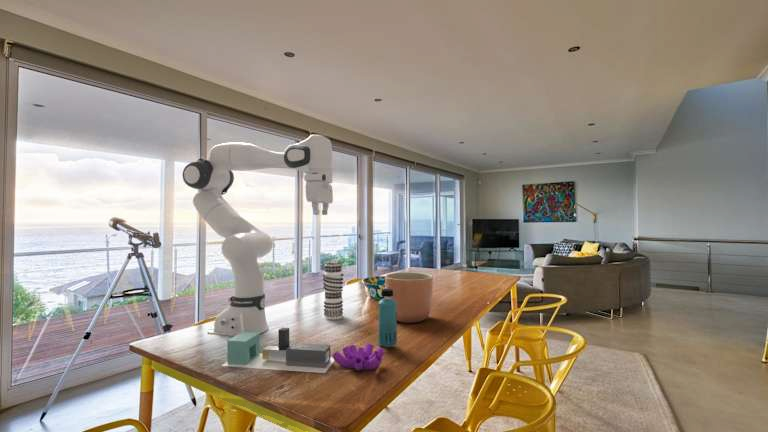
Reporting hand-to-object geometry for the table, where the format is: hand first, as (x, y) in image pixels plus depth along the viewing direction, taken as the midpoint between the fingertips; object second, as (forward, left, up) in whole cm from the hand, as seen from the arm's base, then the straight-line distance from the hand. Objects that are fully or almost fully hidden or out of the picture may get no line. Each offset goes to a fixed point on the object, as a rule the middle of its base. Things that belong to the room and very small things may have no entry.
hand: (320, 214), depth 135 cm
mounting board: (-3, -27, -46) cm, 53 cm away
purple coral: (+22, -26, -46) cm, 57 cm away
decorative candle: (-3, +26, -46) cm, 53 cm away
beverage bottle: (+27, -8, -46) cm, 54 cm away
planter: (+31, +27, -46) cm, 61 cm away
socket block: (-15, -27, -45) cm, 54 cm away
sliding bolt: (+2, -27, -44) cm, 51 cm away
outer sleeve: (+6, -27, -45) cm, 52 cm away
